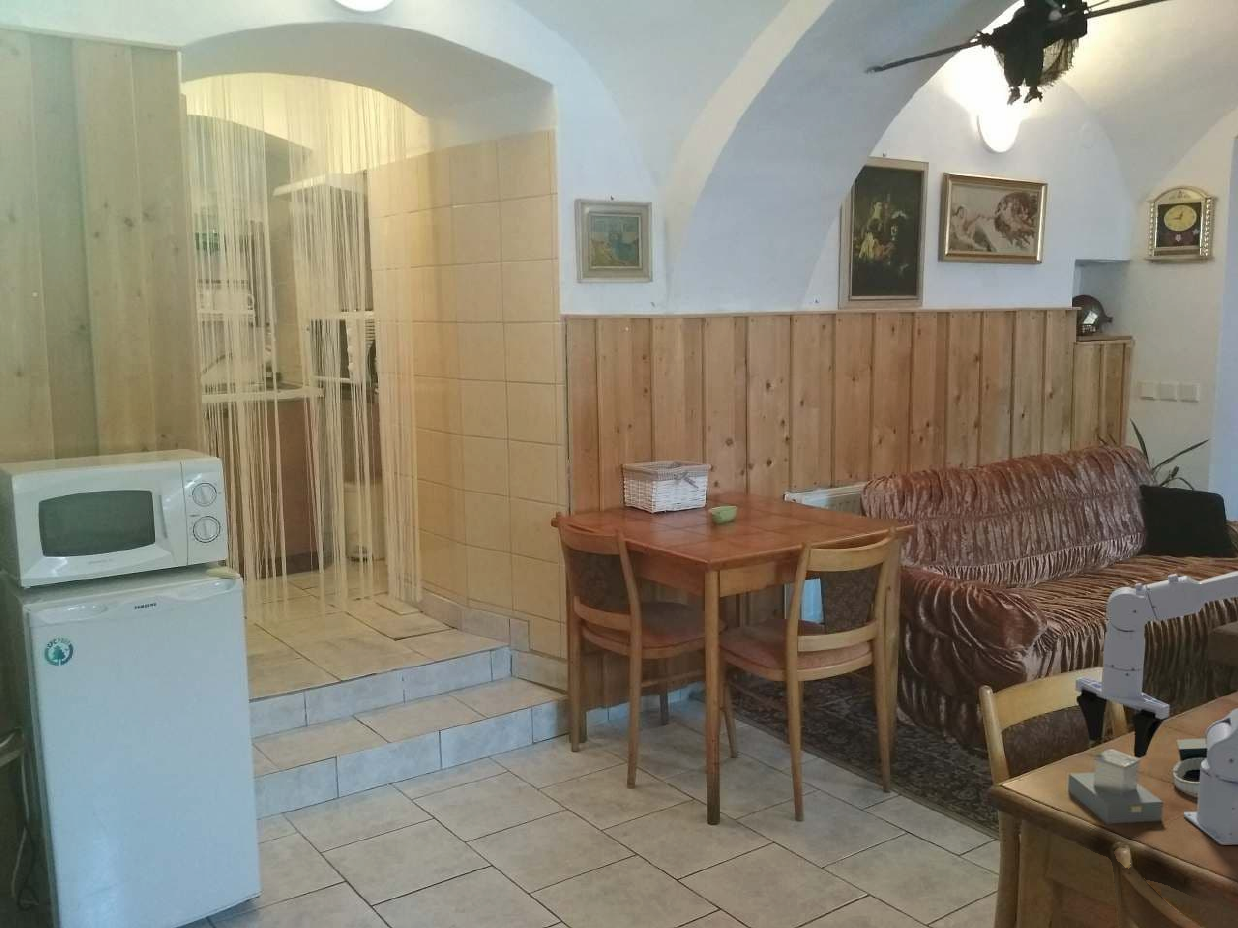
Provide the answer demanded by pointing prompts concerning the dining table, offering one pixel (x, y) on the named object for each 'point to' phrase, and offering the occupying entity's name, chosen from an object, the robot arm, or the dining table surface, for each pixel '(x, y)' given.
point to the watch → (1189, 764)
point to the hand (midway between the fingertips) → (1117, 747)
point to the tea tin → (1116, 772)
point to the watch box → (1115, 801)
